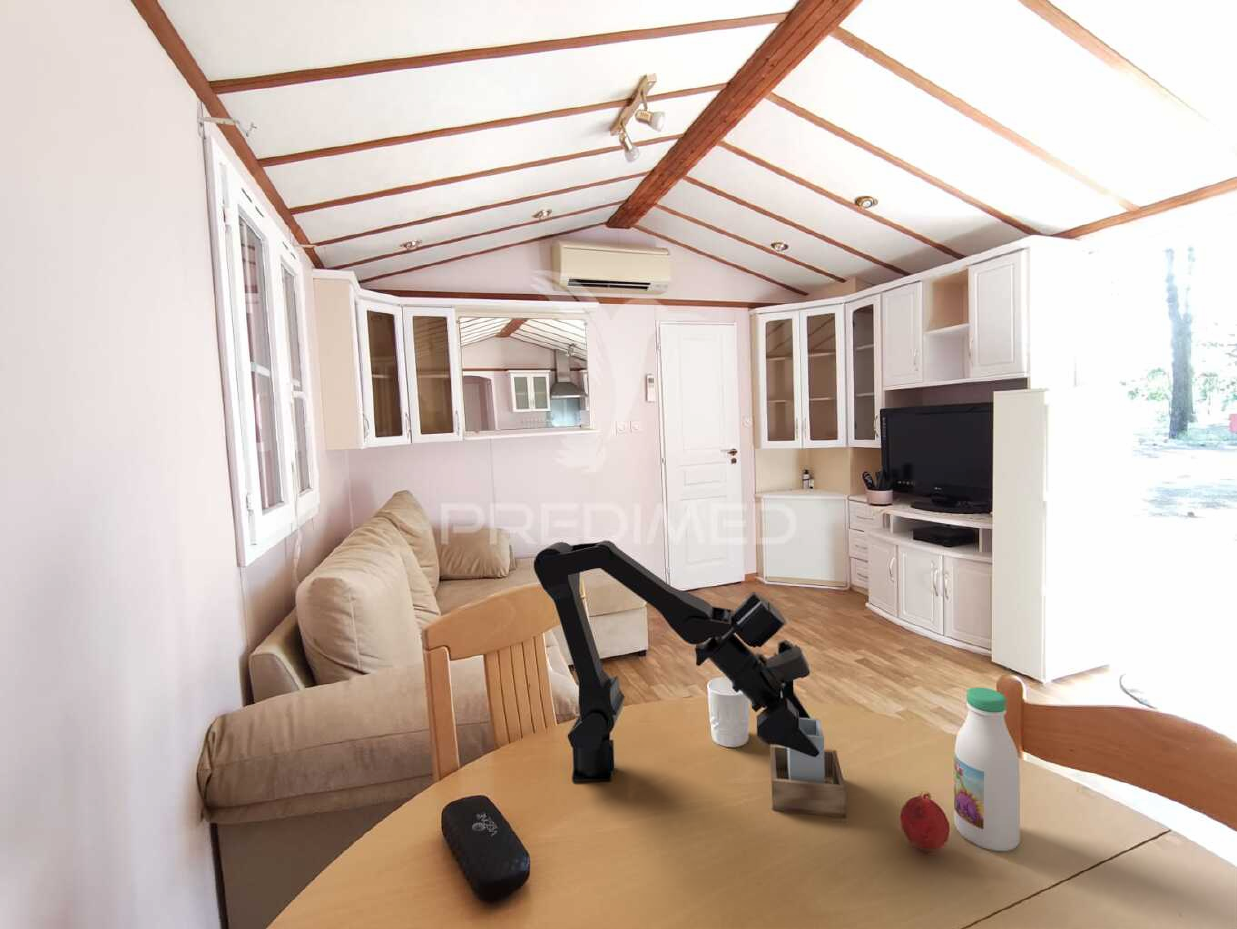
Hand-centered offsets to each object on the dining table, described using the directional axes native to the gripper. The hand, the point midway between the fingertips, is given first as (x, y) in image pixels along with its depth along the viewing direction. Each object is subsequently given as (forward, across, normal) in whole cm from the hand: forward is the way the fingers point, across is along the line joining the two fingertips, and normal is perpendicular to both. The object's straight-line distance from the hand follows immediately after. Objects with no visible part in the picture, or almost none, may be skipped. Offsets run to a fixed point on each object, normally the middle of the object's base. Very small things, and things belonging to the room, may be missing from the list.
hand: (814, 739), depth 91 cm
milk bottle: (+22, -5, -9) cm, 24 cm away
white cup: (-3, +15, +16) cm, 22 cm away
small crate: (+5, 0, +7) cm, 8 cm away
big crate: (+5, 0, +7) cm, 9 cm away
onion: (+16, -10, -3) cm, 19 cm away
